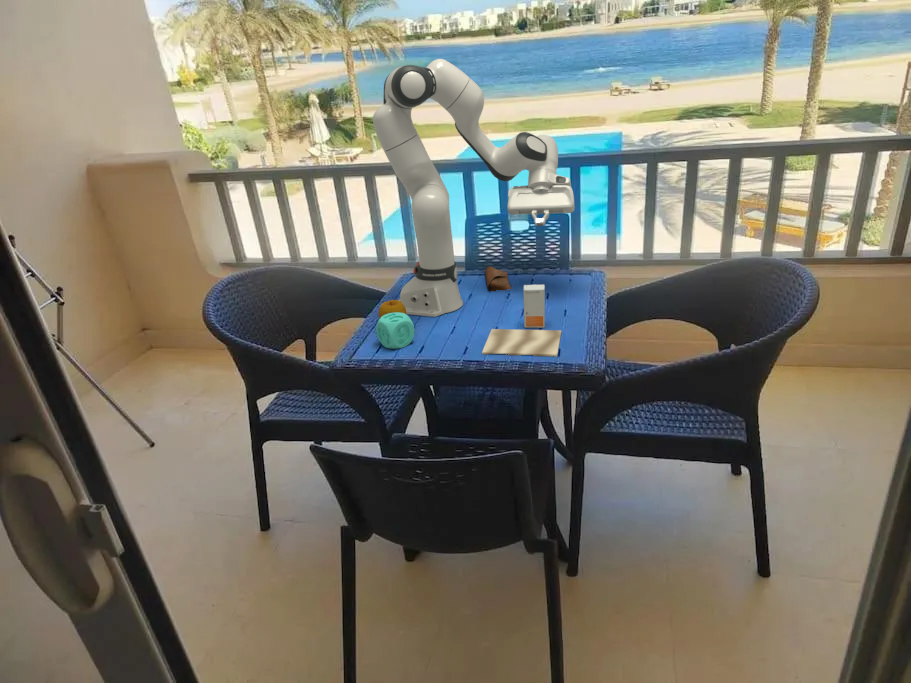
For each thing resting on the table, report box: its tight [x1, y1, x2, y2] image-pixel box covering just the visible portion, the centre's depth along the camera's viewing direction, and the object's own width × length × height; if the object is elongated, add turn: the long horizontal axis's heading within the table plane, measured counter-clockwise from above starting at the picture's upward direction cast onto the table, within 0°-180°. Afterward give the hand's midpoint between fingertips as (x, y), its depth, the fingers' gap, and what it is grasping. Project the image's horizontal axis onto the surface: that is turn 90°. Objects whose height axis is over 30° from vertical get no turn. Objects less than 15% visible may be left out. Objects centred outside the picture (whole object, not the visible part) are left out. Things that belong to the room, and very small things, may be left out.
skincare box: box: [523, 284, 546, 329], centre depth 176 cm, size 6×4×12 cm
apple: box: [377, 299, 407, 320], centre depth 184 cm, size 8×8×9 cm
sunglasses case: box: [484, 266, 512, 292], centre depth 214 cm, size 18×7×7 cm, turn 2°
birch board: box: [481, 328, 562, 358], centre depth 169 cm, size 20×15×1 cm
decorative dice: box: [375, 312, 416, 350], centre depth 174 cm, size 8×8×8 cm
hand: (539, 224), depth 184 cm, fingers closed
